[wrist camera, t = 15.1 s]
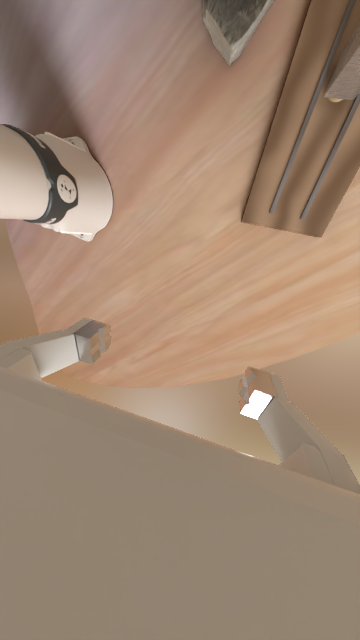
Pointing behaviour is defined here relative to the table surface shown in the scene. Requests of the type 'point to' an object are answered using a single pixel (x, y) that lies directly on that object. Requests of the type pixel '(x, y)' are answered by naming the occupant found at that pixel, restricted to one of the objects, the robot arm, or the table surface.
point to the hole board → (310, 131)
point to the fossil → (233, 23)
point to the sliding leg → (347, 71)
